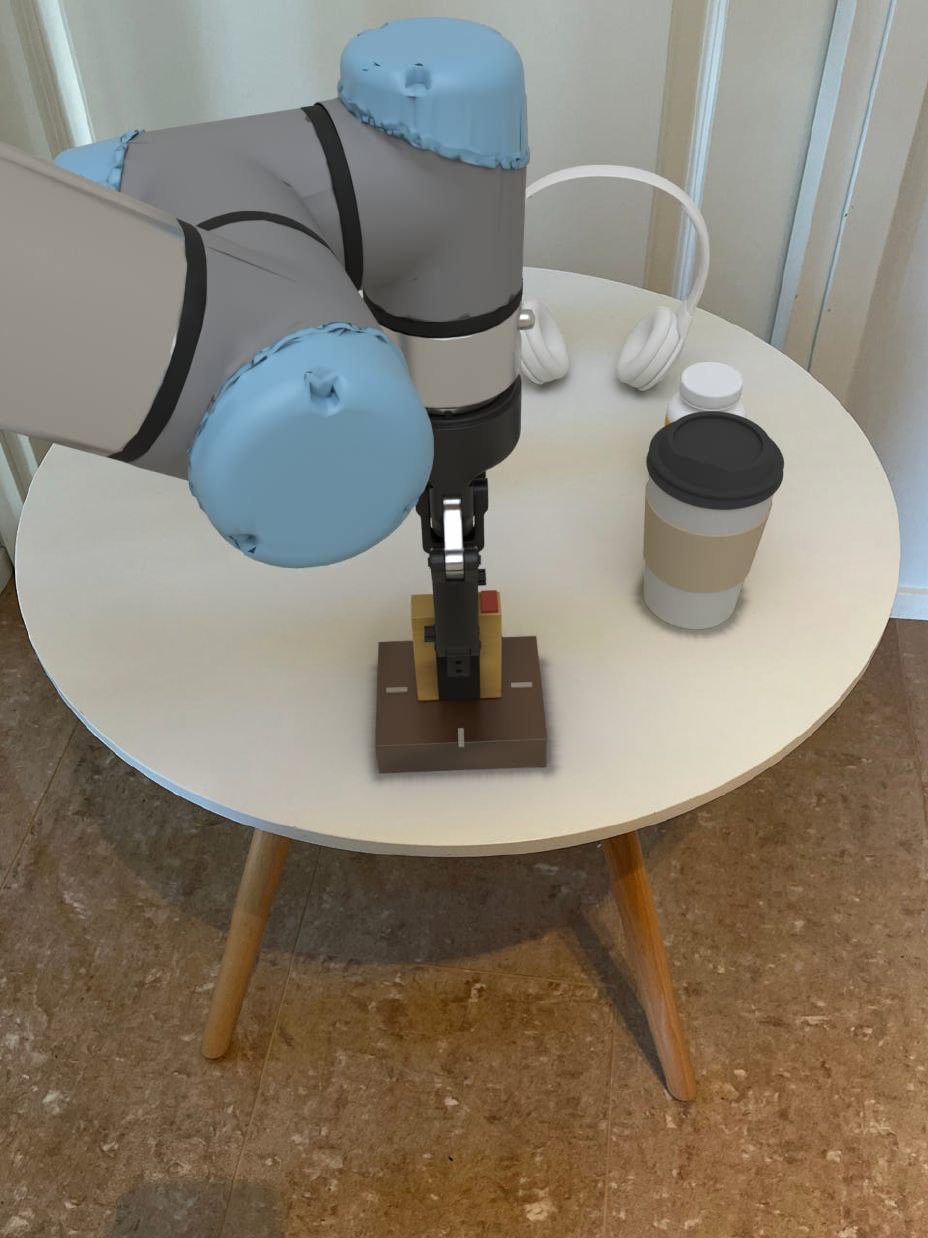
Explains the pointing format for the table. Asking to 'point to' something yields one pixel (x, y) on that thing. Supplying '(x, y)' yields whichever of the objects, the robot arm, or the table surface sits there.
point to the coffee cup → (705, 514)
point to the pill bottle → (707, 391)
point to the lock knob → (488, 636)
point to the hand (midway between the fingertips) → (458, 678)
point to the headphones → (653, 336)
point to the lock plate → (460, 716)
